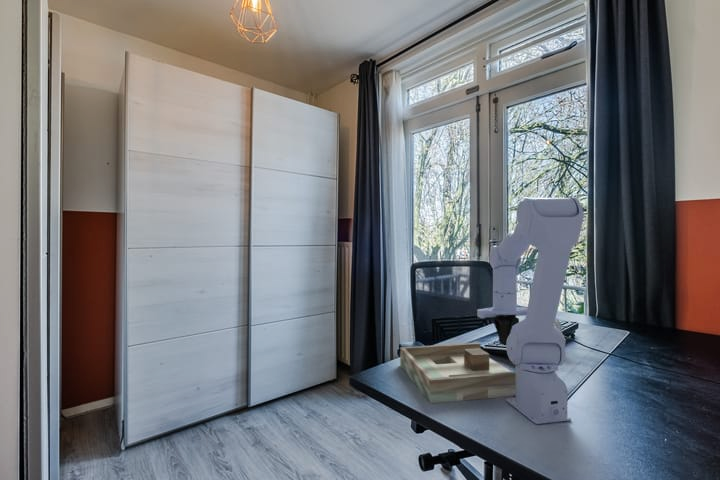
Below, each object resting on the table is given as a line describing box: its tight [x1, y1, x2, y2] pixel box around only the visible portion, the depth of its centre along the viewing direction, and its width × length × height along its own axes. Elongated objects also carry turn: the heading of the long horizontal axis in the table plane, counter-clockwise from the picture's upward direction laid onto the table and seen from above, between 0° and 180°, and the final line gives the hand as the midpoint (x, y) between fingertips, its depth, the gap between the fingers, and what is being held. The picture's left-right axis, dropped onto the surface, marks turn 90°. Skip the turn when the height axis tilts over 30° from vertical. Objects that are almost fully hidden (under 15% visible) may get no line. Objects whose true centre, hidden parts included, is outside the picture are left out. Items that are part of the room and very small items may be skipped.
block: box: [464, 348, 490, 371], centre depth 85 cm, size 4×4×4 cm
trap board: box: [399, 342, 516, 404], centre depth 84 cm, size 22×24×5 cm
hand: (504, 344), depth 87 cm, fingers closed
